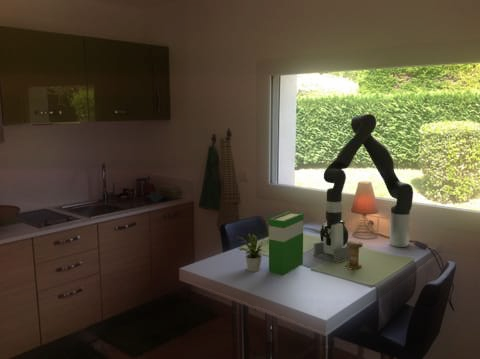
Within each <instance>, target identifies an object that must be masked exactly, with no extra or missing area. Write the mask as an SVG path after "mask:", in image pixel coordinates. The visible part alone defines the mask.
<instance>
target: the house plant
mask: <svg viewBox="0 0 480 359" xmlns="http://www.w3.org/2000/svg"><path fill="white" fill-rule="evenodd" d="M247 234H248V237H249V239H248V240H249V243H250V244H249V243H248V242H247V241H246V240H245V239H244V238H243V237H239V236H238V238H240V239H241V240H243V242H241V243H242V244H245V245H246V247H247V248H244V247H242V246H241V245H240V246H238V247H240V251H243V250H244V252H245V254H246V255H245V260H246V265H247V271H249V272H258V271H260V269H261V263H262V262H261V261H262V255H261V253H266V251H265V250H263V249H261V247H263V246H265V245H262V244H263V243H265V242H266V240H263V241H261V243H259V245H258V247H257V244H258V238H257V235H255V234H252V236H251V234H250V233H247Z"/></svg>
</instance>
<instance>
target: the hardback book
mask: <svg viewBox="0 0 480 359" xmlns="http://www.w3.org/2000/svg"><path fill="white" fill-rule="evenodd" d="M303 260H304V213H302V212H301V213H299V214H297V213H292V211H289V210H288V211H287V212H283V213H282V214H279V215H276V216H274V217H271V218H268V272H269V273H271V274H276V275H279V276H283V277H284V276H285V275H286V274H289V273H290V272H292V271H294V270H296V269H297V268H298V267H300V266H302V265H303V264H304V261H303Z"/></svg>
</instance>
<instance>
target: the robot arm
mask: <svg viewBox="0 0 480 359" xmlns="http://www.w3.org/2000/svg"><path fill="white" fill-rule="evenodd" d="M350 127H351V129H352V132H353V134H354V135H353V137H352V138H350V139H349V141H347V143H345V144H344V145H343V147H342V148H341V149H340V151H339V152H338V154H337V156H336V158H335V159H334V160H333V161H332V162H331V163H330V164H329V165H328V166H327V167H326V169H325V170H324V173H323V180H324V181H325V182H326V183H330V184H333V187H330V188H328V189H326V204H325V220H326V223H327V224H326V225H323V224H322V225H321V228H322V232H323V237H326V245H328V246H330V245H331V234H332V231H331V232H330V231H328V229H331V225H334V224H337V223H340V224H343V232H344V225H345V222H346V221H343V220H342V219H343V203H342V202H343V200H342V199H343V198H342V197H343V190H344V187H345V184H346V180H347V176H346V172H345V170H344V169H348V168H349V166H350V164H351V163H352V162H353V159H354V158H355V156H356V154H358V152H359V150H360V148H361V147H362V145H363V147H364V149H365V151H366V152H367V154H368V156H369V157H370V159H371V162H372V164H373V165H374V166H375V168H376V170H377V171H378V173H379V175H380V177H381V178H382V180H383V183H384V185H385V186H386V189H387V191H388V194H389V195H390V197H392V198H393V199H395V200H396V203H395V205H393V206H391V208H390V222H389V223H390V224H389V225H390V226H389V228H390V230H389V245H390V246H392V247H399V248H404V247H408V246H409V245H410V244H409V243H410V213H411V210H412V207H413V199H414V188H413V186H412V185H411V184H410V183H406V182H402V181H401V180H400V179H399V178H398V176H397V174H396V172H395V163H394V162H395V160H394V159H393V156H392V155H391V153H390V150H389V149H388V148H387V147H386V146H385V145H384V144H383V143H382V142H380V141H379V140H378V139H376V138H375V137H374V136H373V134H372V133H373V132H374V130H375V129H376V127H377V118H376V116H375V115H373V114H372V113H364V114H358V115H355V116H353V117H352V118H351V120H350ZM340 220H341V221H340ZM325 233H326V235H325ZM328 233H329V235H328Z"/></svg>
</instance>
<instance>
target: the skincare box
mask: <svg viewBox="0 0 480 359" xmlns="http://www.w3.org/2000/svg"><path fill="white" fill-rule="evenodd" d="M326 224H327V222H323V223H322V225H326ZM328 231H330V232H331V231H332V234H331V245H330V246H328V245H326V237H323V243H324V252H325V253H328V254H331V255H333V249H337V248H340V247H343V246H344V245H343V224H340V223H337V224H334V225H331V229H328ZM325 235H326V233H325ZM328 235H329V233H328Z"/></svg>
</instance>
